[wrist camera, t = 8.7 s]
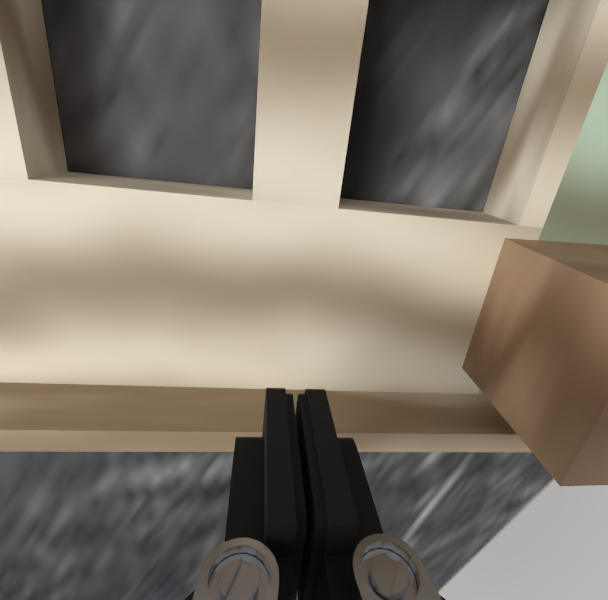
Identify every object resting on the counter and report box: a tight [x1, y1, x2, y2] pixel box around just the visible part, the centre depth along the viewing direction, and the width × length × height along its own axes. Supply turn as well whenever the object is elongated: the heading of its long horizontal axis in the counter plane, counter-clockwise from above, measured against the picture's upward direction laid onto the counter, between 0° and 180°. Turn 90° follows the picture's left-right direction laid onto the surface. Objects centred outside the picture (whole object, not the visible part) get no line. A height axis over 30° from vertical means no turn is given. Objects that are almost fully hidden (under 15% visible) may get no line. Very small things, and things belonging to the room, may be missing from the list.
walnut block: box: [462, 238, 608, 486], centre depth 13 cm, size 6×6×6 cm
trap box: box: [0, 0, 608, 452], centre depth 13 cm, size 18×28×5 cm, turn 84°
